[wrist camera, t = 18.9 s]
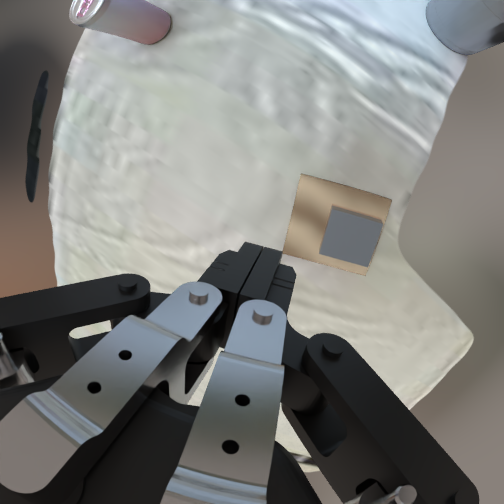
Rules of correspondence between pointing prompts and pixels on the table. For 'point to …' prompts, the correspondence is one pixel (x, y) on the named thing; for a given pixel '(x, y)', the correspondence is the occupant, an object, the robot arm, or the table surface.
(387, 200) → the tan wavy tile
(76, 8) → the beverage can
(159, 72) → the table surface
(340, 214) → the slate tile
